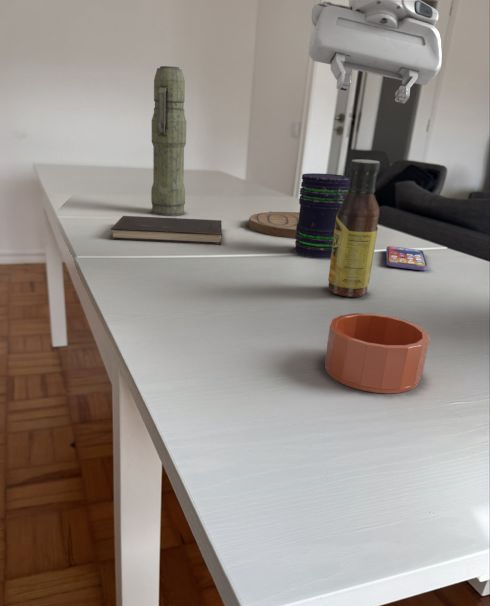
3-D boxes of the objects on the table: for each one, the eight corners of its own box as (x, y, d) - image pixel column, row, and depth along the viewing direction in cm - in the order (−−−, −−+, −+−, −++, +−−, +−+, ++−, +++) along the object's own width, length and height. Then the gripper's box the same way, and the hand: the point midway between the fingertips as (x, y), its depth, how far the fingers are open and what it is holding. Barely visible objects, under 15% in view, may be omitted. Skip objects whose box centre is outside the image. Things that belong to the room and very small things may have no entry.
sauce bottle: (332, 284, 90) (349, 157, 82) (370, 291, 88) (392, 160, 80) (321, 294, 85) (338, 159, 77) (362, 302, 82) (384, 163, 75)
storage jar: (287, 254, 109) (294, 175, 103) (301, 245, 117) (309, 172, 112) (336, 261, 105) (347, 180, 100) (347, 251, 114) (358, 176, 108)
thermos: (188, 210, 152) (191, 69, 139) (179, 217, 142) (182, 65, 128) (157, 208, 154) (157, 68, 140) (146, 215, 143) (145, 64, 129)
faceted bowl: (373, 348, 66) (380, 308, 64) (440, 383, 58) (450, 339, 56) (306, 361, 61) (311, 319, 59) (368, 401, 53) (376, 354, 51)
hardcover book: (221, 244, 115) (221, 233, 114) (111, 239, 114) (110, 228, 114) (220, 229, 129) (221, 219, 128) (123, 225, 129) (123, 215, 128)
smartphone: (422, 254, 114) (427, 271, 101) (385, 250, 116) (385, 266, 103) (423, 250, 114) (428, 267, 100) (386, 245, 116) (386, 261, 102)
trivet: (339, 221, 147) (340, 214, 146) (361, 241, 124) (362, 233, 123) (246, 217, 147) (247, 209, 146) (250, 236, 124) (251, 227, 123)
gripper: (320, -18, 80) (314, 65, 78) (448, 13, 83) (446, 94, 81) (306, 15, 86) (299, 93, 84) (425, 43, 89) (423, 119, 87)
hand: (372, 94), depth 82 cm, fingers open, 8 cm apart
